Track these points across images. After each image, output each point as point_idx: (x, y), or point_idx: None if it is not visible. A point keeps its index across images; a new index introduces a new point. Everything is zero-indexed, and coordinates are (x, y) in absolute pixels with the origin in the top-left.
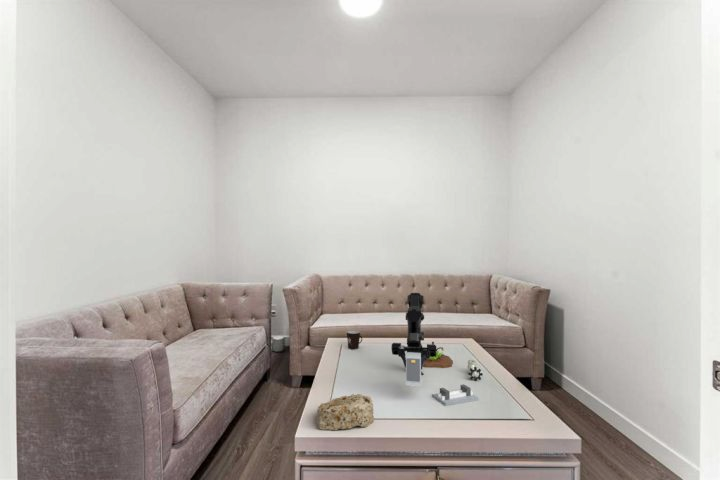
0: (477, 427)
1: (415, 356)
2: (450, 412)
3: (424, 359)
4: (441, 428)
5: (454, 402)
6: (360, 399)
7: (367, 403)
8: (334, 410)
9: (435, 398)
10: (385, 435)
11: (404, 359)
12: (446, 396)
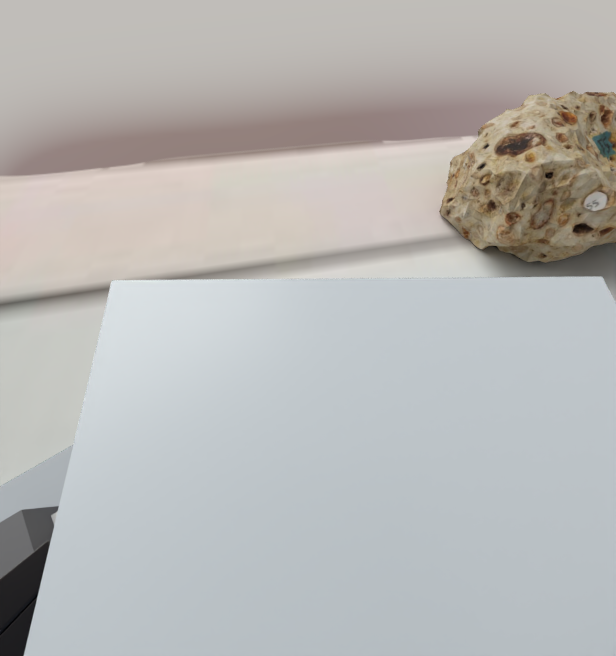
0: (3, 237)
1: (301, 285)
2: (87, 358)
3: (21, 565)
4: (170, 211)
5: (8, 484)
6: (544, 122)
7: (500, 135)
8: (587, 92)
9: None
10: (370, 153)
11: None
12: (40, 510)
